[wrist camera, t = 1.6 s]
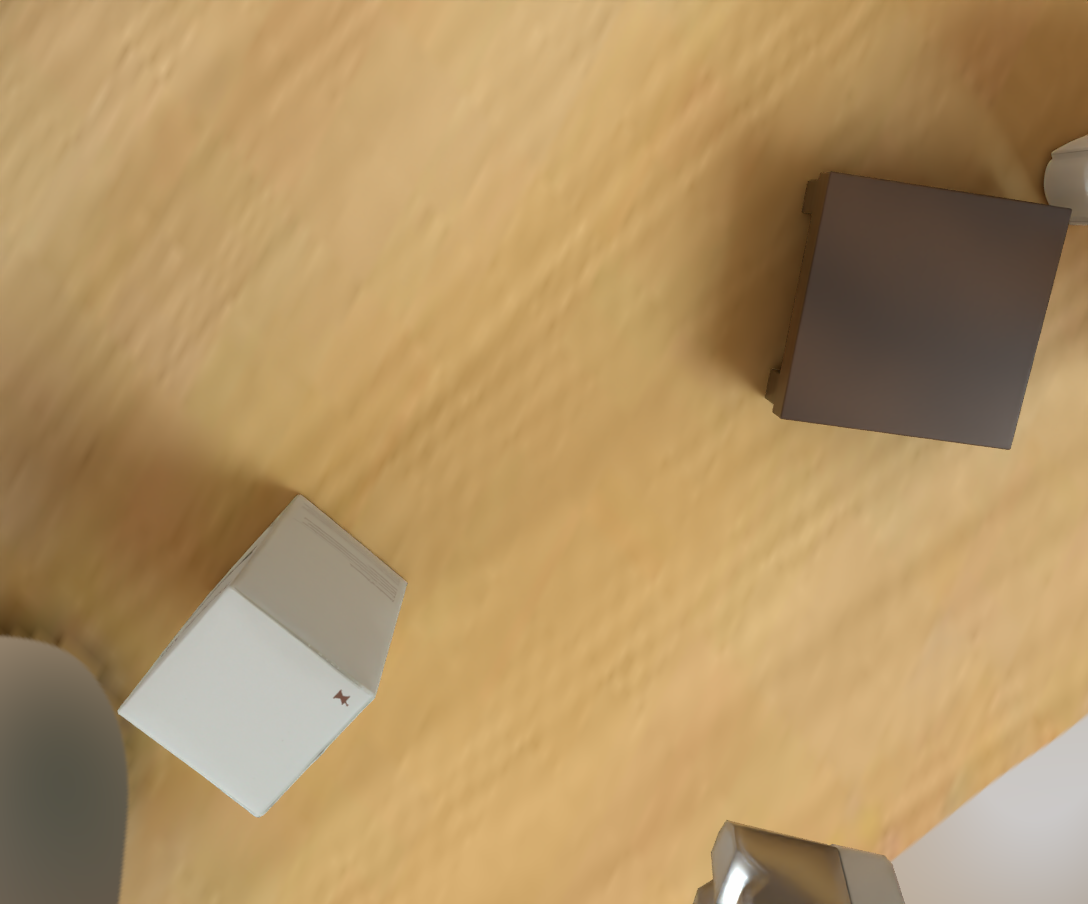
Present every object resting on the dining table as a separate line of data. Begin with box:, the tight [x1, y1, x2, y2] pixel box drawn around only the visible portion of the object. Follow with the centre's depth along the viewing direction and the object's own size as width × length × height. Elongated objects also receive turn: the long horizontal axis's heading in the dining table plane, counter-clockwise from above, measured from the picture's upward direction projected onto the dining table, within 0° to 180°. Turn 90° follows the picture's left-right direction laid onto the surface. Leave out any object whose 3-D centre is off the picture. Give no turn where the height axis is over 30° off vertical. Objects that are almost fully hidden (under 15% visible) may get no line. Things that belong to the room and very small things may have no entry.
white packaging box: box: [118, 494, 407, 817], centre depth 45 cm, size 7×7×13 cm
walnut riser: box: [765, 171, 1072, 450], centre depth 47 cm, size 11×11×4 cm
